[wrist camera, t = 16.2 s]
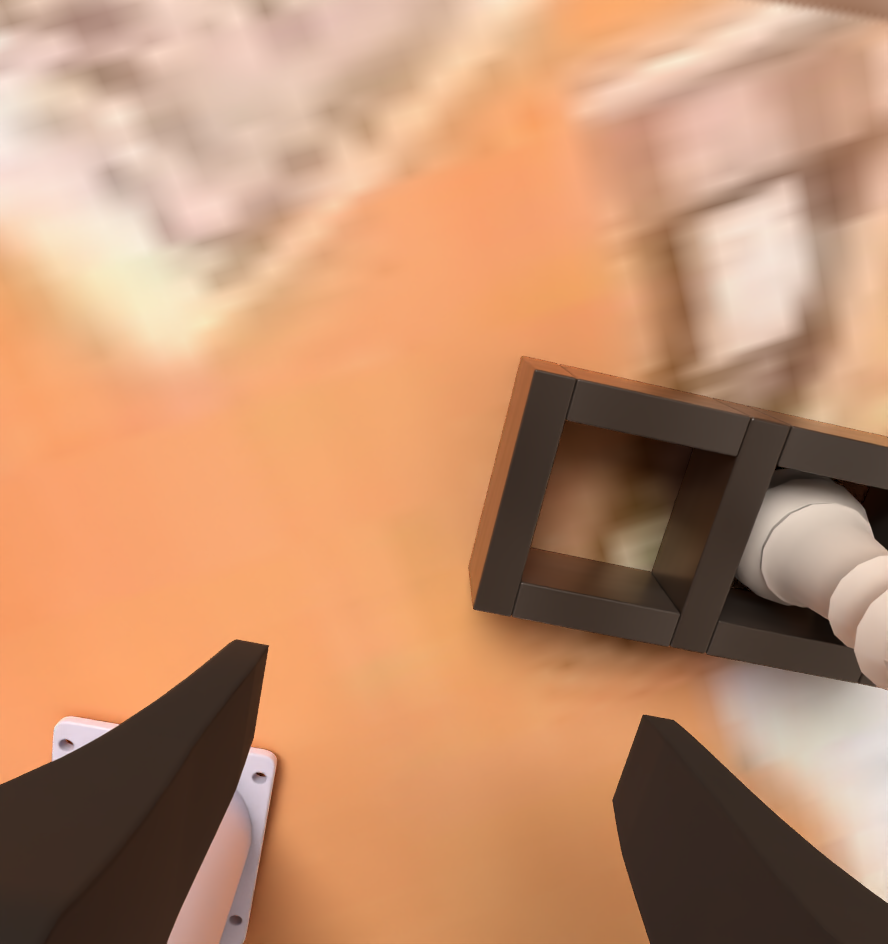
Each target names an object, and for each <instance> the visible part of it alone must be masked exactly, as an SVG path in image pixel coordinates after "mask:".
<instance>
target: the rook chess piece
mask: <svg viewBox="0 0 888 944" xmlns="http://www.w3.org/2000/svg"><path fill="white" fill-rule="evenodd" d="M735 577H736V578H737V579H738V580H739V581H740V582H741V583H742V584H743V585H745V586H747V587H748V588H750V589H751V590H752V591H753V592H754V593H755V594H756V595H757V596H760V597H762V598H765V599H768V600H771V601H774V602H777V603H780V604H783V605H786V606H791V605H796V606H799V607H808V608H810V609H811V610H813V611H815V612H816V613H818V614H820V615H821V616H823V617H824V618H826V619H828V620H829V621H830V624H831V627H832V630H833V633H834V635H835V636H836V637H838V638H839V639H840V640H841V641H842V642H843V643H844V644H845V645H846V646H847V647H850V648H853V649H854V652H855V655H856V658H857V661H858V664H859V667H860V670H861V672H862V673H863V674H864V675H865V676H866V677H867V678H869V679H870V680H871V681H872V682H873V683H874V684H875V685H876V686H877V687H880V688H883V689H886V690H888V551H887V550H886V549H885V548H884V547H883V546H882V545H881V544H880V543H879V542H878V541H876V540H875V539H874V535H873V532H872V529H871V526H870V524H869V521H868V518H867V515H866V511H865V509H864V508H863V506H862V505H861V504H860V503H859V502H858V501H857V500H856V499H855V498H854V496H853V495H852V494H851V493H850V492H849V491H848V490H847V489H846V488H845V487H844V486H841V485H838V484H836V483H835V482H834V481H833V480H832V479H831V478H830V477H826V476H821V475H817V474H812V473H807V472H803V471H798V470H793V469H778V470H775V471H774V473H773V476H772V479H771V481H770V484H769V487H768V489H767V492H766V494H765V497H764V500H763V502H762V505H761V508H760V510H759V513H758V516H757V518H756V521H755V524H754V526H753V529H752V532H751V534H750V537H749V540H748V542H747V545H746V548H745V550H744V553H743V555H742V558H741V561H740V563H739V566H738V569H737V571H736V574H735Z"/></svg>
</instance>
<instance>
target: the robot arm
mask: <svg viewBox="0 0 888 944" xmlns="http://www.w3.org/2000/svg"><path fill="white" fill-rule="evenodd" d="M268 647H269V645H263V644H258V643H253V642H247V641H242V640H234V641H232V642H231V643H229V644H228V645H227V646H225V647H224V648H223V649H222V650H221V651H219V652H218V653H217V654H216V655H215V656H213V657H212V658H211V659H210V660H209V661H207V662H206V663H205V664H204V665H202V666H201V667H200V668H199V669H197V670H196V671H195V672H194V673H192V674H191V675H190V676H189V677H187V678H186V679H185V680H183V681H182V682H181V683H179V684H178V685H176V686H175V687H174V688H172V689H171V690H170V691H168V692H167V693H166V694H164V695H163V696H162V697H160V698H159V699H157V700H156V701H155V702H153V703H152V704H150V705H149V706H147V707H146V708H144V709H143V710H141V711H140V712H138V713H137V714H135V715H134V716H132V717H130V718H129V719H127V720H126V721H124V722H123V723H121V724H115V723H109V722H104V721H98V720H92V719H86V718H81V717H75V716H67V717H64V718H62V719H61V720H60V721H59V722H58V723H57V725H56V726H55V728H54V733H53V749H52V762H50V763H48V764H45V765H43V766H41V767H39V768H37V769H34V770H32V771H30V772H28V773H26V774H23V775H21V776H19V777H17V778H15V779H12V780H10V781H8V782H6V783H3V784H1V785H0V944H243V943H244V941H245V938H246V934H247V930H248V924H249V919H250V913H251V907H252V902H253V896H254V890H255V885H256V879H257V874H258V868H259V862H260V857H261V851H262V845H263V840H264V834H265V829H266V823H267V817H268V812H269V806H270V800H271V795H272V789H273V784H274V778H275V772H276V767H277V758H276V756H275V754H273V753H272V752H271V751H268V750H266V749H260V748H254V747H251V744H252V741H253V738H254V732H255V726H256V720H257V714H258V708H259V702H260V696H261V689H262V683H263V677H264V671H265V665H266V659H267V653H268ZM65 739H67V740H70V741H71V742H72V743H73V744H70V743H68V742H67V741H66V740H65ZM257 772H261V773H263V774H265V775H266V776H259V775H257ZM612 801H613V807H614V813H615V819H616V825H617V831H618V836H619V841H620V846H621V851H622V855H623V859H624V862H625V866H626V869H627V872H628V875H629V878H630V882H631V885H632V888H633V891H634V895H635V898H636V901H637V904H638V907H639V910H640V913H641V916H642V920H643V923H644V926H645V929H646V932H647V935H648V938H649V941H650V944H888V903H887V902H885V901H884V900H882V899H881V898H880V897H878V896H877V895H875V894H874V893H873V892H871V891H870V890H869V889H867V888H866V887H865V886H863V885H862V884H861V883H859V882H858V881H857V880H855V879H854V878H853V877H851V876H850V875H849V874H848V873H846V872H845V871H844V870H842V869H841V868H840V867H838V866H837V865H836V864H834V863H833V862H832V861H831V860H829V859H828V858H827V857H826V856H824V855H823V854H822V853H821V852H819V851H818V850H817V849H816V848H815V847H813V846H812V845H811V844H810V843H809V842H808V841H806V840H805V839H804V838H803V837H802V836H801V835H799V834H798V833H797V832H796V831H795V830H794V829H792V828H791V827H790V826H789V825H788V824H787V823H785V822H784V821H783V820H782V819H781V818H780V817H779V816H777V815H776V814H775V813H774V812H773V811H772V810H771V809H770V808H769V807H767V806H766V805H765V804H764V803H763V802H762V801H761V800H760V799H759V798H758V797H757V796H755V795H754V794H753V793H752V792H751V791H750V790H749V789H748V788H747V787H746V786H745V785H744V784H743V783H742V782H740V781H739V780H738V779H737V778H736V777H735V776H734V775H733V774H732V773H731V772H730V771H729V770H728V769H727V768H726V767H725V766H724V765H723V764H722V763H721V762H719V761H718V760H717V759H716V758H715V757H714V756H713V755H712V754H711V753H710V752H709V751H708V750H707V749H706V748H705V747H704V746H703V745H701V744H700V743H699V742H698V741H697V740H696V739H695V738H694V737H693V736H692V735H691V734H690V733H688V732H687V731H686V730H685V729H684V728H683V727H681V726H680V725H679V724H678V723H677V722H675V721H674V720H670V719H665V718H659V717H654V716H649V715H643V716H642V719H641V722H640V724H639V727H638V730H637V733H636V736H635V738H634V741H633V744H632V747H631V750H630V752H629V755H628V758H627V761H626V764H625V766H624V769H623V772H622V775H621V778H620V780H619V783H618V786H617V789H616V792H615V794H614V797H613V800H612ZM236 915H237V916H236Z"/></svg>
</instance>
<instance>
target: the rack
mask: <svg viewBox="0 0 888 944" xmlns="http://www.w3.org/2000/svg"><path fill="white" fill-rule="evenodd" d="M565 420H568V421H571V422H576V423H580V424H585V425H590V426H594V427H599V428H604V429H608V430H613V431H618V432H622V433H627V434H631V435H636V436H641V437H645V438H650V439H655V440H659V441H664V442H668V443H673V444H678V445H682V446H687V447H692V448H694V449H693V452H692V455H691V458H690V461H689V464H688V467H687V469H686V472H685V475H684V478H683V481H682V484H681V487H680V490H679V493H678V496H677V499H676V502H675V505H674V508H673V511H672V514H671V517H670V520H669V523H668V526H667V529H666V532H665V535H664V538H663V541H662V544H661V547H660V550H659V552H658V555H657V558H656V561H655V564H654V567H653V570H652V573H651V572H649V571H644V570H639V569H634V568H629V567H624V566H619V565H614V564H609V563H604V562H599V561H594V560H589V559H584V558H579V557H575V556H570V555H565V554H560V553H555V552H550V551H545V550H540V549H535V548H530V546H531V543H532V539H533V535H534V532H535V528H536V525H537V521H538V517H539V514H540V510H541V507H542V503H543V499H544V496H545V492H546V489H547V485H548V481H549V478H550V474H551V470H552V467H553V463H554V460H555V456H556V452H557V449H558V445H559V442H560V438H561V434H562V431H563V427H564V424H565ZM776 465H777V466H779V467H784V468H789V469H793V470H798V471H803V472H807V473H812V474H817V475H821V476H826V477H830V478H835V479H840V480H844V481H849V482H854V483H858V484H863V485H868V486H870V489H869V491H868V494H867V496H866V498H865V501H864V503H863V505H862V506H863V508H864V509H865V511H866V515H867V518H868V521H869V524H870V526H871V529H872V532H873V535H874V539H875V540H876V541H878V542H879V543H880V544H881V545H882V546H883V547H884V548H885V549H886V550H887V551H888V437H886V436H882V435H877V434H873V433H868V432H864V431H859V430H855V429H850V428H846V427H841V426H837V425H832V424H828V423H823V422H819V421H814V420H810V419H805V418H801V417H796V416H792V415H787V414H783V413H778V412H774V411H769V410H765V409H760V408H756V407H751V406H745V405H742V404H737V403H733V402H728V401H724V400H719V399H715V398H713V399H711V398H709V397H706V396H701V395H697V394H692V393H688V392H683V391H679V390H674V389H670V388H665V387H661V386H656V385H652V384H647V383H643V382H638V381H634V380H629V379H625V378H620V377H616V376H611V375H607V374H602V373H598V372H593V371H589V370H584V369H580V368H575V367H571V366H566V365H562V364H560V365H558V364H557V363H553V362H548V361H544V360H539V359H535V358H530V357H526V356H522V357H521V360H520V364H519V368H518V372H517V376H516V380H515V384H514V388H513V392H512V396H511V399H510V403H509V407H508V411H507V415H506V419H505V423H504V427H503V431H502V435H501V439H500V443H499V447H498V451H497V455H496V459H495V463H494V467H493V471H492V475H491V479H490V483H489V487H488V491H487V495H486V499H485V503H484V507H483V511H482V515H481V519H480V523H479V527H478V531H477V535H476V539H475V543H474V547H473V551H472V555H471V559H470V563H469V575H470V585H471V594H472V603H473V609H474V610H479V611H484V612H489V613H494V614H499V615H505V616H511V615H512V617H515V618H520V619H525V620H531V621H536V622H541V623H546V624H551V625H557V626H562V627H567V628H572V629H577V630H583V631H588V632H593V633H598V634H603V635H609V636H614V637H619V638H624V639H629V640H635V641H640V642H645V643H650V644H655V645H661V646H666V647H668V646H670V647H673V648H678V649H683V650H688V651H693V652H699V653H706V654H707V655H712V656H717V657H722V658H727V659H733V660H738V661H743V662H748V663H753V664H758V665H764V666H769V667H774V668H779V669H784V670H790V671H795V672H800V673H805V674H810V675H816V676H821V677H826V678H831V679H836V680H842V681H847V682H852V683H858V684H863V685H868V686H873V687H877V686H876V685H875V684H874V683H873V682H872V681H871V680H870V679H869V678H867V677H866V676H865V675H864V674H863V673H862V672H861V670H860V667H859V664H858V661H857V658H856V655H855V652H854V649H853V648H850V647H847V646H846V645H845V644H844V643H843V642H842V641H841V640H840V639H839V638H838V637H836V636H835V635H834V633H833V630H832V627H831V624H830V621H829V620H828V619H826V618H824V617H823V616H821V615H820V614H818V613H816V612H815V611H813V610H811V609H810V608H808V607H799V606H796V605H791V606H786V605H783V604H780V603H777V602H774V601H771V600H768V599H765V598H762V597H760V596H757V595H756V594H755V593H754V592H749V591H744V590H740V589H735V588H730V587H731V585H732V582H733V579H734V577H735V574H736V571H737V569H738V566H739V563H740V561H741V558H742V555H743V553H744V550H745V548H746V545H747V542H748V540H749V537H750V534H751V532H752V529H753V526H754V524H755V521H756V518H757V516H758V513H759V510H760V508H761V505H762V502H763V500H764V497H765V494H766V492H767V489H768V487H769V484H770V481H771V479H772V476H773V473H774V471H775V468H776ZM878 688H880V687H878Z"/></svg>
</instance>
